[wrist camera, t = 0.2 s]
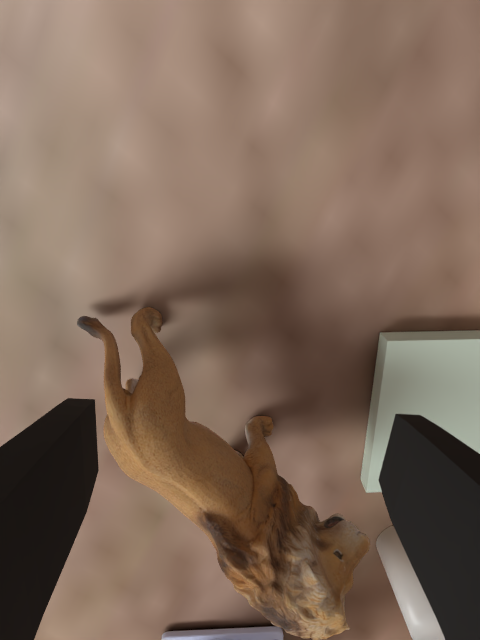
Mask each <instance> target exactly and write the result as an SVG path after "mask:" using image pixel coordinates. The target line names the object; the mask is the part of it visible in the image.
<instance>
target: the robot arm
mask: <svg viewBox="0 0 480 640" xmlns="http://www.w3.org/2000/svg"><path fill="white" fill-rule="evenodd" d="M97 473H98V452H97V434H96V415H95V400H93V399H72V398H68V399H66V400H65V401H63V402H62V403H60V404H59V405H57V406H56V407H55V408H53V409H52V410H51V411H49V412H48V413H46V414H45V415H44V416H42V417H41V418H40V419H38V420H37V421H36V422H34V423H33V424H32V425H30V426H29V427H28V428H26V429H25V430H23V431H22V432H21V433H19V434H18V435H16V436H15V437H14V438H12V439H11V440H9V441H8V442H7V443H5V444H4V445H2V446H1V447H0V640H34V638H35V635H36V633H37V630H38V627H39V625H40V622H41V619H42V617H43V614H44V612H45V609H46V607H47V605H48V602H49V600H50V598H51V595H52V593H53V591H54V588H55V586H56V583H57V581H58V579H59V576H60V574H61V572H62V569H63V567H64V565H65V562H66V560H67V557H68V555H69V553H70V550H71V548H72V546H73V543H74V541H75V538H76V536H77V534H78V531H79V529H80V526H81V524H82V522H83V519H84V517H85V514H86V512H87V509H88V505H89V502H90V498H91V495H92V492H93V488H94V484H95V481H96V477H97ZM378 480H379V484H380V487H381V490H382V494H383V497H384V501H385V504H386V507H387V510H388V513H389V516H390V519H391V521H392V524H393V526H394V528H395V530H396V533H397V535H398V537H399V539H400V541H401V544H402V546H403V548H404V550H405V552H406V554H407V557H408V559H409V561H410V563H411V565H412V567H413V569H414V572H415V574H416V576H417V578H418V580H419V582H420V584H421V587H422V589H423V591H424V593H425V595H426V597H427V599H428V602H429V604H430V606H431V608H432V610H433V612H434V614H435V617H436V619H437V621H438V623H439V626H440V628H441V630H442V633H443V635H444V638H445V640H480V454H479V453H478V452H476V451H475V450H473V449H472V448H470V447H469V446H467V445H466V444H465V443H463V442H462V441H460V440H459V439H457V438H456V437H454V436H453V435H451V434H450V433H448V432H447V431H445V430H444V429H442V428H441V427H439V426H438V425H436V424H435V423H433V422H431V421H430V420H428V419H426V418H425V417H423V416H421V415H412V414H395V418H394V422H393V426H392V430H391V433H390V437H389V441H388V445H387V449H386V453H385V456H384V460H383V464H382V468H381V472H380V476H379V479H378ZM161 640H283V630H282V629H281V628H280V627H277V626H269V627H248V628H227V629H206V630H185V631H168V632H165V633H163V635H162V639H161Z"/></svg>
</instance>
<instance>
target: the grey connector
mask: <svg viewBox="0 0 480 640" xmlns="http://www.w3.org/2000/svg"><path fill="white" fill-rule="evenodd" d="M376 548H377V551H378V553H379V556H380V558H381V561H382V563H383V566H384V568H385V571H386V574H387V576H388V579H389V581H390V584H391V586H392V589H393V591H394V594H395V596H396V599H397V602H398V604H399V607H400V609H401V612H402V614H403V617H404V619H405V622H406V625H407V627H408V630H409V632H410V635H411V637H412V639H413V640H445V638H444V635H443V633H442V630H441V628H440V626H439V623H438V621H437V619H436V617H435V614H434V612H433V610H432V608H431V606H430V604H429V602H428V599H427V597H426V595H425V593H424V591H423V589H422V587H421V584H420V582H419V580H418V578H417V576H416V574H415V572H414V569H413V567H412V565H411V563H410V561H409V559H408V557H407V554H406V552H405V550H404V548H403V546H402V544H401V541H400V539H399V537H398V535H397V533H396V530H395V528H394V526H393V525H392V526H390V527H388V528H386V529H385V530H384V531H383V532H382V533H381V534H380V535H379V536H378V538H377V541H376Z"/></svg>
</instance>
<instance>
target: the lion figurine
mask: <svg viewBox="0 0 480 640" xmlns="http://www.w3.org/2000/svg"><path fill="white" fill-rule="evenodd" d="M162 324H163V322H162V316H161V314H160V312H158V311H157V310H155V309H153V308H150V307H147V308H143V309H141V310H139V311H138V312H137V313H136V314H134V316H133V317H132V320H131V333H132V336H133V337H134V339H135V340H136V342H137V343H138V345H139V347H140V350H141V354H142V359H143V372H142V374H141V376H140V378H139V380H137V379H133V378H132V379H129V380H127V382H126V389H123V388H122V385H121V365H120V358H119V352H118V347H117V343H116V340H115V338H114V336H113V334H112V333H111V332H110V331H109V330H107V329H106V328H105V327H104V326H103V325H102V324H101V323H100V322H99V320H98V319H96V318H90V317H87V316H82V317H80V318H79V319H78V321H77V325H78V326H79V327H81V328H82V329H84V330H86V331H87V332H89V333H90V334H91V335H92V336H93V337H96V338H99V339H101V340H102V341H103V342H104V346H105V364H104V390H105V403H106V409H107V413H108V414H107V416H106V419H105V423H104V438H105V441H106V444H107V446H108V448H109V450H110V452H111V454H112V455H113V457H114V458H115V460H116V461H117V463H118V465H119V467H120V468H121V469H122V470H123V472H124V473H125V474H126V475H127V476H129V477H130V478H132V479H134V480H136V481H138V482H139V483H141V484H143V485H146V486H148V487H149V488H151V489H153V490H155V491H156V492H158V493H159V494H161V495H162V496H163V497H164V498H166V499H167V500H168V501H169V502H171V503H172V504H173V505H174V506H175V507H176V508H177V509H178V510H179V511H181V512H182V513H183V514H184V515H185V516H186V517H187V518H189V519H190V520H191V521H192V522H194V523H195V524H196V525H197V526H198V527H199V528H200V529H201V530H202V531H203V532H204V533H205V534H206V535H207V536H208V537H209V539H210V540H211V542H212V544H213V546H214V547H215V549H216V551H217V556H218V562H219V565H220V567H221V569H222V571H223V572H224V573H225V575H226V577H227V578H228V579H229V580H230V581H231V582H232V583H233V584H234V589H235V591H237V592H238V593H240V594H241V595H243V596H244V597H245V598H246V599H248V601H249V604H250V605H251V606H252V607H253V608H255V609H256V610H258V611H259V612H261V613H262V615H263V616H264V617H265V618H266V619H267V620H270V621H271V623H272V624H273V625H275V626H277V627H281V628H283V629H284V630H285V631H286V632H287V633H289V634H291V635H294V636H299V637H301V638H305V639H307V638H312V640H321V639H327V638H329V637H331V636H333V635H334V634H340V633H342V632H343V631H344V630H346V629H347V630H349V629H350V628H349V626H348V624H347V622H346V617H345V612H344V600H345V597H344V596H345V594H346V593H347V592H348V591H349V590H350V589H351V588H352V585H353V570H354V568H355V567H356V566H357V564H358V563H359V561H360V560H361V559H362V557H363V556H364V555H365V554H366V553H367V552H368V551H369V548H370V540H369V538H368V537H367V536H366V535H365V534H364V533H360V531H359V530H358V528H357V527H356V526H355V525H354V524H353V523H351V522H349V521H346V519H345V518H344V517H343V516H342V515H340V514H334V515H332V516H331V517H330V518H328V519H327V520H325V521H323V522H320V520H319V518H318V515H317V512H316V511H315V510H314V509H313V508H312V507H310V506H306V505H303V504H302V503H301V502H300V501H299V499H298V495H297V493H296V491H295V490H294V489H293V487H292V485H291V484H288V483H287V482H286V480H285V479H283V478H282V477H281V476H279V475H278V474H277V470H276V465H275V461H274V458H273V454H272V452H271V449H270V447H269V445H268V444H267V442H266V440H265V438H264V437H265V436H269V435H271V431H272V430H273V423H272V419H271V418H270V417H268V416H255V417H253V418H252V419H251V420H250V421H248V422H247V423H246V426H245V434H246V439H247V442H248V444H249V448H248V450H247V451H246V452H245V455H244V458H243V456H242V454H241V453H239V452H238V451H235V450H234V449H233V448H232V447H231V446H230V445H229V444H228V443H227V442H226V441H224V440H223V439H222V438H221V437H219V436H218V435H217V434H216V433H214V432H213V431H211V430H210V429H209V428H207V427H205V426H203V425H201V424H199V423H197V422H190V421H188V420H187V418H186V417H185V394H184V389H183V386H182V383H181V380H180V377H179V374H178V371H177V368H176V366H175V364H174V362H173V360H172V358H171V356H170V355H169V353H168V352H167V351H166V349H165V348H164V347H163V345H162V344H161V342H160V341H159V340H158V338H157V336H156V335H155V333H158V332H160V330H161V326H162Z"/></svg>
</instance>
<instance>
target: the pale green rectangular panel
mask: <svg viewBox="0 0 480 640" xmlns="http://www.w3.org/2000/svg"><path fill="white" fill-rule="evenodd" d="M395 414H412V415H421V416H423V417H425V418H426V419H428V420H430V421H431V422H433V423H435V424H436V425H438V426H439V427H441V428H442V429H444V430H445V431H447V432H448V433H450V434H451V435H453V436H454V437H456V438H457V439H459V440H460V441H462V442H463V443H465V444H466V445H467V446H469V447H470V448H472V449H473V450H475V451H476V452H478V453H479V454H480V330H470V331H423V332H380V336H379V343H378V351H377V358H376V366H375V374H374V381H373V389H372V396H371V404H370V411H369V419H368V426H367V434H366V441H365V449H364V456H363V464H362V471H361V481H362V484H363V486H364V488H365V491H366V493H368V492H382V490H381V487H380V484H379V480H378V479H379V476H380V472H381V468H382V464H383V460H384V456H385V453H386V449H387V445H388V441H389V437H390V433H391V430H392V426H393V422H394V418H395Z"/></svg>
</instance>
